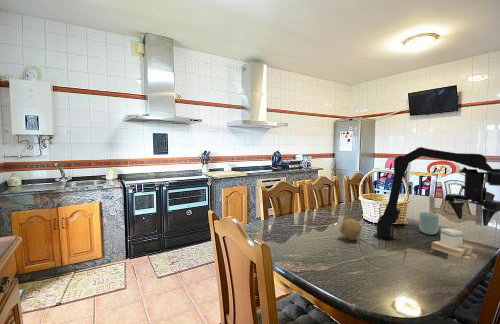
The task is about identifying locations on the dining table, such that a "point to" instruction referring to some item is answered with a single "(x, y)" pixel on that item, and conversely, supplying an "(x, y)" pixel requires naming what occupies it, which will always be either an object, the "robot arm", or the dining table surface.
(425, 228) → the cup
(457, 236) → the white lidded box
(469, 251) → the oak block
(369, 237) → the dining table surface
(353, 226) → the natural sponge
